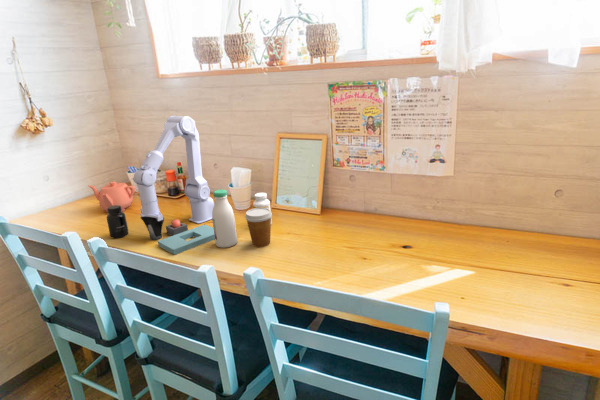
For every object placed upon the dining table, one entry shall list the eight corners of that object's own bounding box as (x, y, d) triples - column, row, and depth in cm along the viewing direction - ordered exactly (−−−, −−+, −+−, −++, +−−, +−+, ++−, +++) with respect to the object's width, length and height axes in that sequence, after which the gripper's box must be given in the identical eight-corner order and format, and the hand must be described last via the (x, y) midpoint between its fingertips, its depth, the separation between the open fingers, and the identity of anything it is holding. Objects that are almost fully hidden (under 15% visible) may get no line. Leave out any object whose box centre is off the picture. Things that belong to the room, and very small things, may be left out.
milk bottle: (241, 240, 149) (235, 188, 143) (229, 249, 143) (222, 195, 136) (224, 238, 152) (217, 187, 146) (211, 246, 146) (203, 193, 140)
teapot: (108, 217, 184) (101, 188, 180) (93, 210, 195) (86, 183, 191) (141, 207, 195) (136, 180, 191) (125, 201, 206) (120, 175, 202)
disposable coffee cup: (263, 235, 152) (260, 205, 148) (280, 242, 146) (277, 210, 142) (242, 244, 146) (239, 213, 142) (259, 251, 140) (256, 218, 136)
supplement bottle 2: (260, 221, 167) (257, 191, 163) (275, 222, 164) (272, 192, 160) (252, 227, 161) (248, 196, 157) (266, 228, 158) (263, 197, 154)
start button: (178, 226, 162) (177, 218, 161) (182, 228, 160) (181, 220, 159) (171, 229, 160) (169, 221, 159) (175, 231, 158) (173, 223, 157)
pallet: (205, 229, 163) (204, 224, 162) (222, 236, 154) (221, 231, 154) (158, 246, 149) (157, 241, 149) (174, 255, 141) (173, 249, 141)
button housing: (180, 228, 165) (179, 221, 164) (188, 232, 161) (187, 225, 160) (166, 233, 161) (165, 226, 160) (174, 237, 157) (173, 229, 156)
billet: (158, 234, 160) (156, 220, 158) (164, 237, 157) (161, 223, 155) (148, 238, 157) (145, 224, 155) (153, 241, 154) (150, 226, 152)
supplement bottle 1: (122, 239, 158) (116, 210, 154) (106, 238, 160) (100, 210, 156) (132, 232, 165) (126, 204, 161) (117, 231, 166) (111, 204, 162)
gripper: (130, 200, 155) (137, 233, 159) (147, 207, 145) (154, 242, 149) (148, 195, 159) (154, 227, 163) (165, 202, 149) (171, 236, 153)
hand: (155, 234), depth 156 cm, fingers closed on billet, 4 cm apart
